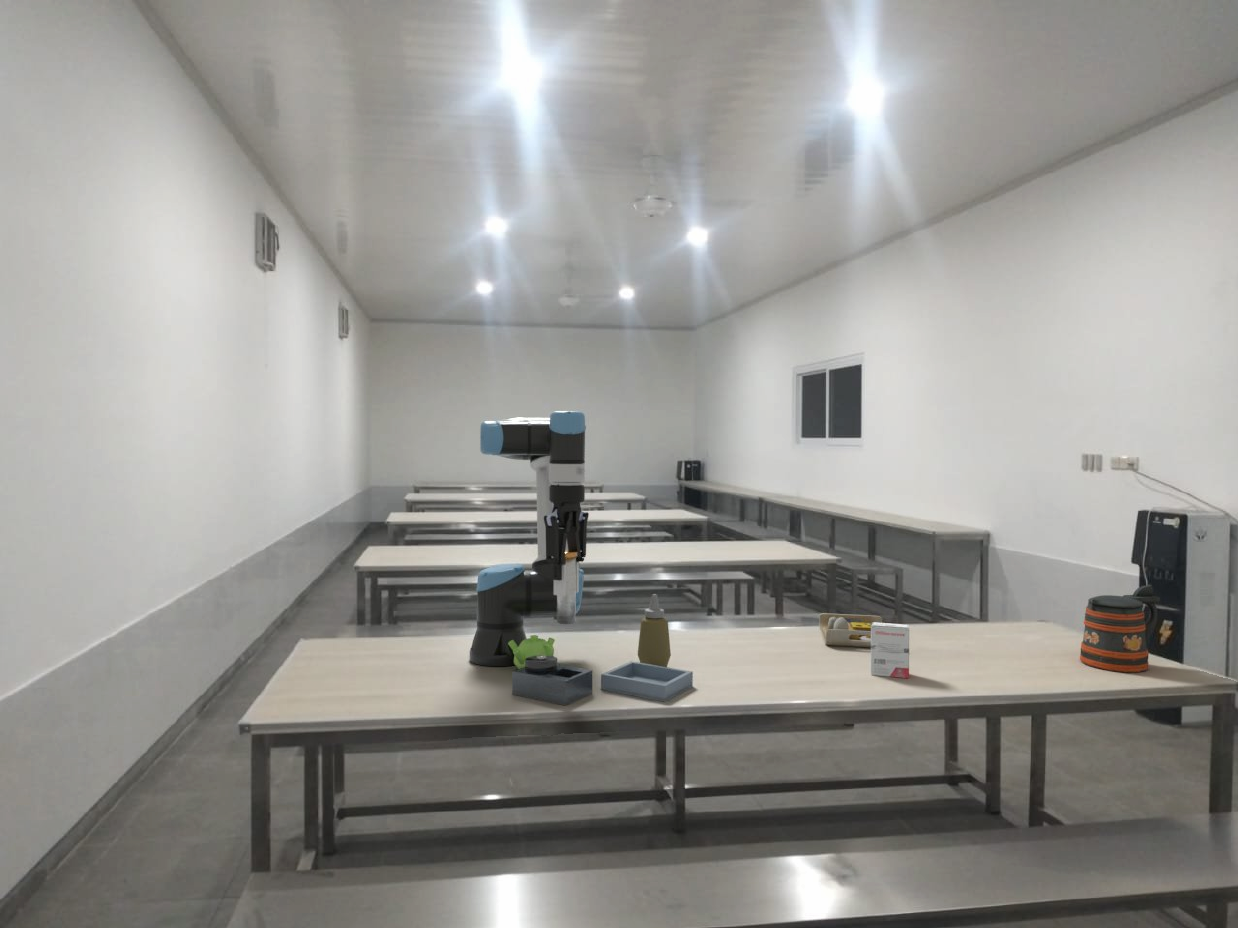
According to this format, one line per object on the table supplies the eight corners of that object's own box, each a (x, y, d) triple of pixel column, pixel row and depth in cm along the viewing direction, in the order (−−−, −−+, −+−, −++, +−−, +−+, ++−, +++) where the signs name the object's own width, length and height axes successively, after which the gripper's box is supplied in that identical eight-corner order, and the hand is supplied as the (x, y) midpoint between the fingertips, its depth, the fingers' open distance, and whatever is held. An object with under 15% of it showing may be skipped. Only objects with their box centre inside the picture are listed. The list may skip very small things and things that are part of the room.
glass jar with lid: (550, 622, 169) (551, 552, 169) (563, 618, 173) (564, 549, 173) (568, 625, 167) (569, 553, 166) (581, 621, 171) (581, 551, 170)
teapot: (560, 676, 185) (561, 640, 185) (511, 679, 182) (511, 642, 182) (554, 663, 196) (554, 629, 196) (507, 666, 193) (507, 631, 193)
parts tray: (600, 689, 175) (601, 674, 175) (631, 675, 186) (631, 661, 186) (665, 701, 167) (665, 685, 167) (692, 686, 178) (692, 671, 178)
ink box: (908, 673, 190) (909, 623, 190) (909, 678, 185) (909, 627, 185) (870, 669, 193) (871, 620, 193) (870, 675, 188) (870, 624, 188)
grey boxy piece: (512, 694, 171) (512, 658, 171) (540, 682, 180) (540, 648, 179) (565, 705, 164) (565, 667, 164) (592, 693, 172) (592, 657, 172)
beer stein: (1125, 655, 209) (1127, 579, 209) (1177, 670, 195) (1179, 588, 194) (1066, 659, 204) (1067, 581, 204) (1115, 674, 190) (1116, 591, 190)
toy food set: (895, 652, 211) (896, 624, 211) (825, 649, 214) (825, 620, 214) (881, 631, 236) (882, 606, 236) (818, 628, 239) (819, 603, 239)
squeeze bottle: (668, 674, 187) (668, 598, 187) (634, 672, 189) (635, 596, 188) (672, 665, 195) (673, 592, 195) (640, 663, 196) (641, 591, 196)
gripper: (557, 486, 160) (557, 601, 160) (603, 483, 174) (602, 589, 175) (528, 484, 164) (527, 597, 164) (575, 481, 178) (574, 585, 179)
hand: (566, 593), depth 170 cm, fingers closed on glass jar with lid, 4 cm apart
